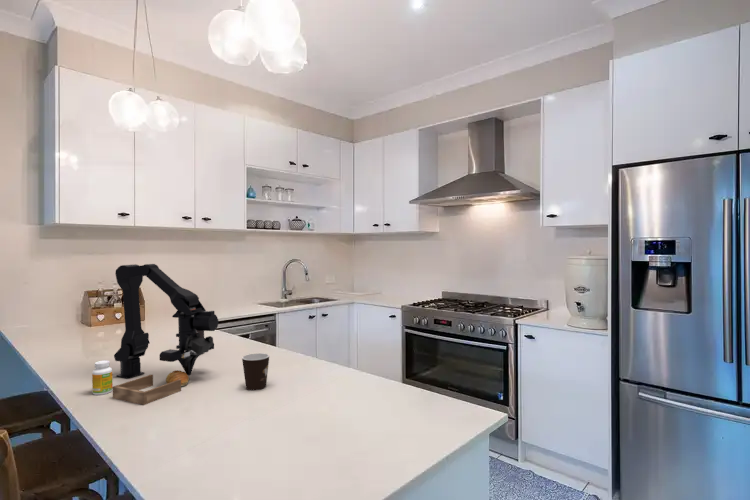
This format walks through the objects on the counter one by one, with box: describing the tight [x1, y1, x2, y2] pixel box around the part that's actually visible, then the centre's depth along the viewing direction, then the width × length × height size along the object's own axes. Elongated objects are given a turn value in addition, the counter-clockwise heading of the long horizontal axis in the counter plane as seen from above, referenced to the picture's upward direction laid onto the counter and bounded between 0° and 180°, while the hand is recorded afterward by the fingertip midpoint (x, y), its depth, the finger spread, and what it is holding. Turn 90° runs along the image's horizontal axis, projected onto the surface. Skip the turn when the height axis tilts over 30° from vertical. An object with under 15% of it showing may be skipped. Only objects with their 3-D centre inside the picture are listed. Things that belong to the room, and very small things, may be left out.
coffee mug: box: [241, 352, 270, 391], centre depth 139 cm, size 12×9×10 cm
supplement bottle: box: [91, 360, 114, 396], centre depth 134 cm, size 5×5×10 cm
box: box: [112, 374, 182, 406], centre depth 132 cm, size 14×13×4 cm
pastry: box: [165, 370, 190, 387], centre depth 141 cm, size 9×7×4 cm
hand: (188, 374), depth 146 cm, fingers closed
